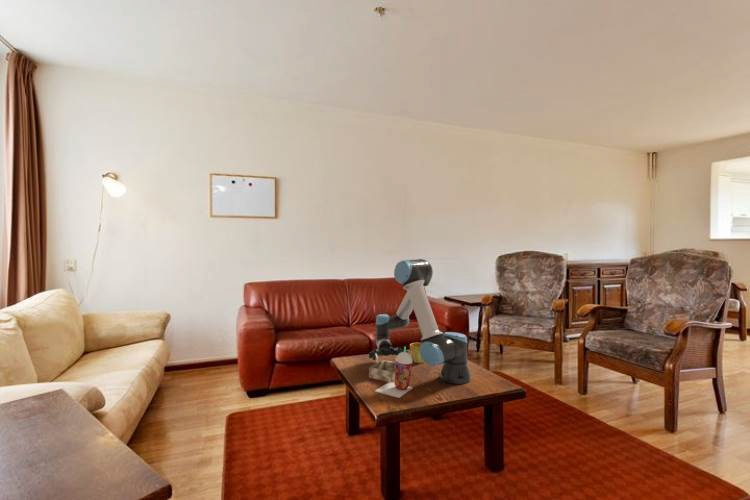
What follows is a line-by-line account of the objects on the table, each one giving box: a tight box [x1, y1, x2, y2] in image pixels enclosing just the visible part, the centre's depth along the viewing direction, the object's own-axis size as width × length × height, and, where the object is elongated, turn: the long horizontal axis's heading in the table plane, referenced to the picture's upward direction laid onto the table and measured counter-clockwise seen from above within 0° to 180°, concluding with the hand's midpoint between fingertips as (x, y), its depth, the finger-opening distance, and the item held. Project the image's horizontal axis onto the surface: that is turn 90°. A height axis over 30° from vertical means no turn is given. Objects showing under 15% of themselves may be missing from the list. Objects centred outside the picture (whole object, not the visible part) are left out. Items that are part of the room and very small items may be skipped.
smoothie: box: [394, 346, 414, 390], centre depth 175 cm, size 8×8×20 cm
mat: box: [374, 382, 414, 399], centre depth 175 cm, size 13×13×1 cm
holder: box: [368, 359, 395, 383], centre depth 193 cm, size 14×14×5 cm
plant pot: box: [409, 342, 425, 364], centre depth 216 cm, size 10×10×10 cm
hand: (391, 359), depth 181 cm, fingers open, 13 cm apart
